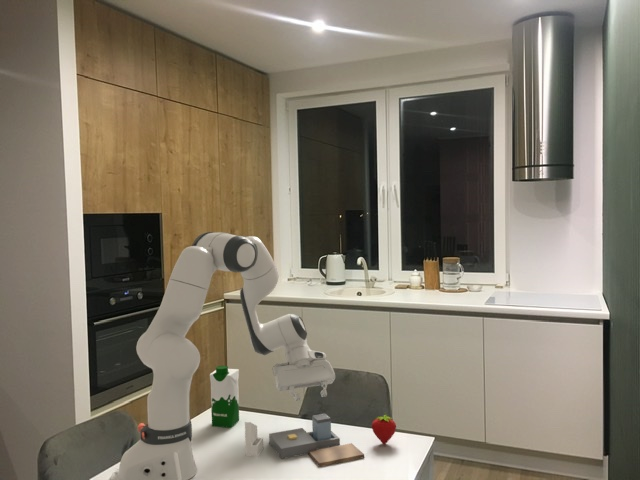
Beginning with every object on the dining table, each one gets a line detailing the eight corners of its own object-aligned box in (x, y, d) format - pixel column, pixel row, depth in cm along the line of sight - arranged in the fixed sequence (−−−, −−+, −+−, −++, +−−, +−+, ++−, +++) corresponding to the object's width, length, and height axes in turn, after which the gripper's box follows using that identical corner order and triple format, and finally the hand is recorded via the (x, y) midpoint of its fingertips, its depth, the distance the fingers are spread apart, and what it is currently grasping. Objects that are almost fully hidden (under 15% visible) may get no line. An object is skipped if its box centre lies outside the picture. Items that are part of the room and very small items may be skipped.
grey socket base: (281, 458, 156) (281, 446, 156) (269, 443, 167) (269, 431, 167) (342, 447, 163) (342, 435, 163) (326, 432, 174) (326, 421, 174)
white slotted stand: (240, 453, 154) (244, 422, 158) (250, 457, 163) (254, 427, 167) (252, 454, 153) (256, 422, 157) (262, 458, 162) (265, 428, 166)
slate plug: (318, 446, 164) (317, 420, 164) (312, 440, 168) (312, 415, 168) (331, 443, 166) (330, 418, 166) (325, 438, 170) (325, 413, 170)
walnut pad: (319, 466, 150) (319, 463, 150) (308, 454, 158) (308, 451, 158) (364, 457, 156) (364, 454, 156) (351, 446, 163) (351, 443, 163)
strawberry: (371, 439, 169) (371, 407, 168) (396, 439, 168) (395, 408, 167) (371, 447, 163) (371, 414, 162) (396, 447, 162) (396, 415, 161)
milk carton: (208, 427, 181) (206, 368, 180) (219, 417, 189) (218, 361, 189) (232, 429, 178) (231, 369, 178) (242, 419, 187) (241, 362, 186)
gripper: (272, 359, 177) (282, 397, 168) (329, 352, 185) (342, 388, 176) (269, 369, 181) (278, 407, 173) (324, 362, 189) (336, 398, 180)
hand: (311, 397), depth 174 cm, fingers open, 8 cm apart
